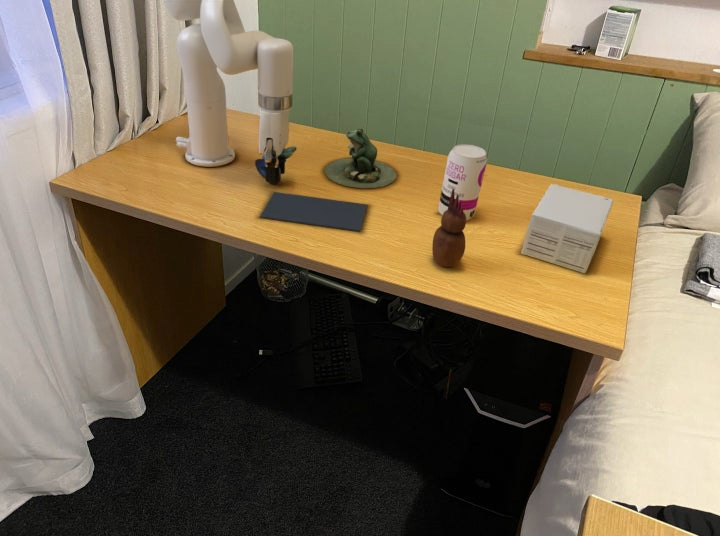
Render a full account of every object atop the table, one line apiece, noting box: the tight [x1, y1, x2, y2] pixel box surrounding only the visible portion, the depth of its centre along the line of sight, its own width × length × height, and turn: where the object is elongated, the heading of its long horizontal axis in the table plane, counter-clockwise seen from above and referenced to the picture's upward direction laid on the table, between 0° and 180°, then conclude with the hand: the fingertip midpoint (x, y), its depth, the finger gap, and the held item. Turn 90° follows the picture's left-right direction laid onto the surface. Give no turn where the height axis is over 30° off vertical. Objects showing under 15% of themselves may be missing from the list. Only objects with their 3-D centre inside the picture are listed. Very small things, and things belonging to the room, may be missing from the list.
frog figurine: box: [324, 127, 397, 189], centre depth 141 cm, size 18×18×12 cm
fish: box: [254, 145, 298, 185], centre depth 134 cm, size 4×10×10 cm, turn 78°
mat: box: [259, 191, 368, 233], centre depth 127 cm, size 22×12×1 cm, turn 79°
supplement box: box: [520, 183, 615, 274], centre depth 117 cm, size 17×13×9 cm
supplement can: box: [437, 144, 488, 221], centre depth 125 cm, size 8×8×15 cm
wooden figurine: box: [431, 189, 467, 268], centre depth 109 cm, size 7×6×15 cm
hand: (275, 176), depth 136 cm, fingers closed on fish, 4 cm apart
